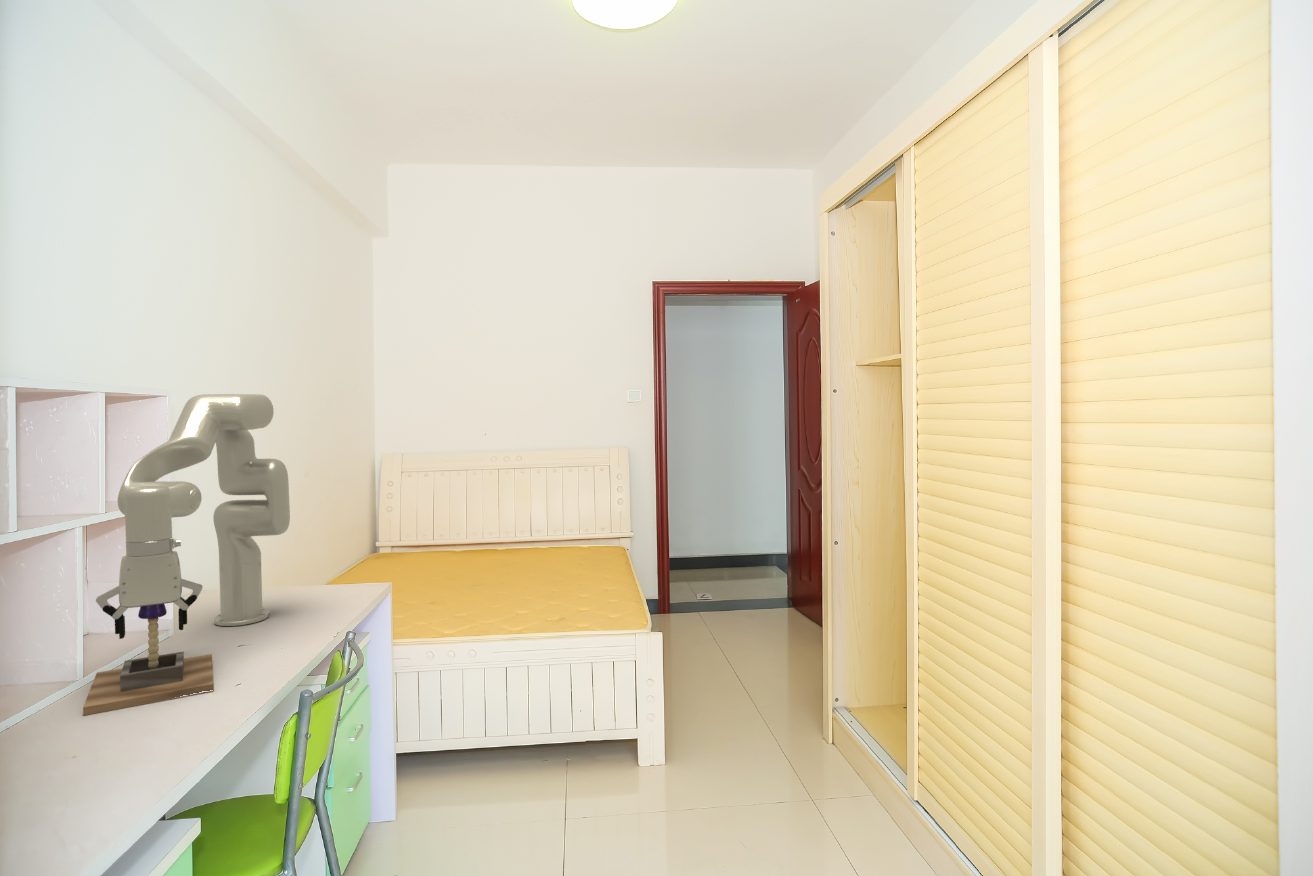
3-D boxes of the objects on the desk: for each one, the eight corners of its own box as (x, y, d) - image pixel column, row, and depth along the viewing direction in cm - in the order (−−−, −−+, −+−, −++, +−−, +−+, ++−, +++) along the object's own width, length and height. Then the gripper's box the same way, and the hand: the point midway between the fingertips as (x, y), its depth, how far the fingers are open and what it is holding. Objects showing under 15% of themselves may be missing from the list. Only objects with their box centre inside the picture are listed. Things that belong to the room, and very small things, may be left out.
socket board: (97, 679, 144) (96, 658, 144) (212, 660, 155) (211, 640, 155) (83, 715, 127) (82, 691, 127) (213, 691, 138) (212, 668, 138)
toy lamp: (173, 674, 143) (171, 593, 142) (150, 683, 138) (148, 599, 138) (157, 671, 144) (155, 591, 144) (133, 679, 140) (131, 597, 139)
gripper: (201, 540, 148) (203, 620, 148) (96, 549, 138) (99, 635, 139) (201, 546, 141) (203, 630, 142) (91, 556, 132) (95, 646, 133)
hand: (152, 632), depth 140 cm, fingers open, 9 cm apart
